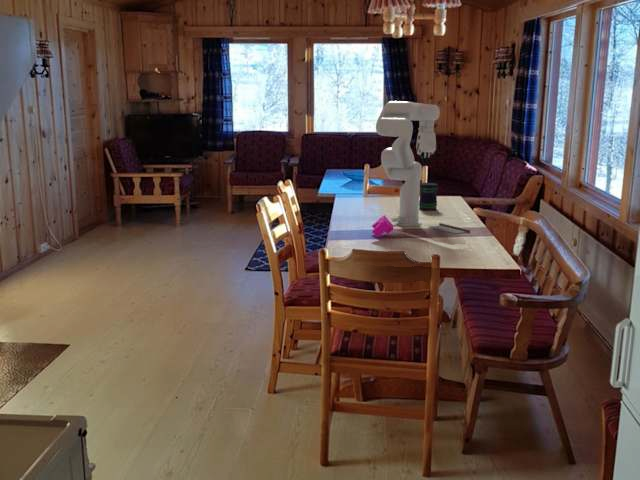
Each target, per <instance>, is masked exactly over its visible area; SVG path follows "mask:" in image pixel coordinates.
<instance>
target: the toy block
mask: <svg viewBox="0 0 640 480" xmlns="http://www.w3.org/2000/svg"><path fill="white" fill-rule="evenodd" d="M371 228H373V229H372V230H371V232H372V234H373V235H374V236H375V237H376V238H379V237H380V236H381V235H383V234H384V233H386V234H387V235H388V234H390V233H391V232H392V231H393V230H394V225H393V222H392V221H390V220H389V219H388V217H387V216H386V215H385V214H383V215H382V216H381V217H380V218H379V219H378V220H376V221H375V222H374V223H373V224H372V225H371Z"/></svg>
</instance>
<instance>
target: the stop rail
mask: <svg viewBox="0 0 640 480" xmlns="http://www.w3.org/2000/svg"><path fill="white" fill-rule="evenodd" d="M439 225H440V226H444V227H448V228H453V229H457V230H461V231H465V232H466V233H468V234H470V233H471V229H468V228H463V227H460V226H454V225H451V224H446V223H443V222H439V224H438V226H439Z"/></svg>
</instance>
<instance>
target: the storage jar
mask: <svg viewBox="0 0 640 480" xmlns="http://www.w3.org/2000/svg"><path fill="white" fill-rule="evenodd" d="M438 186H439V185H438V183H435V182H420V189H419V210H421V211H425V212H426V211H427V212H435V211H437V206H438V204H437V203H438V200H437V199H438V198H437V196H438Z"/></svg>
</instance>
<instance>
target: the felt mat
mask: <svg viewBox="0 0 640 480" xmlns="http://www.w3.org/2000/svg"><path fill="white" fill-rule="evenodd" d="M428 228H429V229H433V230H439V231H442V232H445V233H449V234H450V233H451V234H454V235H457V234H464V233H467V232H465V231H461V230H457V229H453V228H448V227H444V226H440V225H439V224H438V225H433V226H429V227H428Z"/></svg>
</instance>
